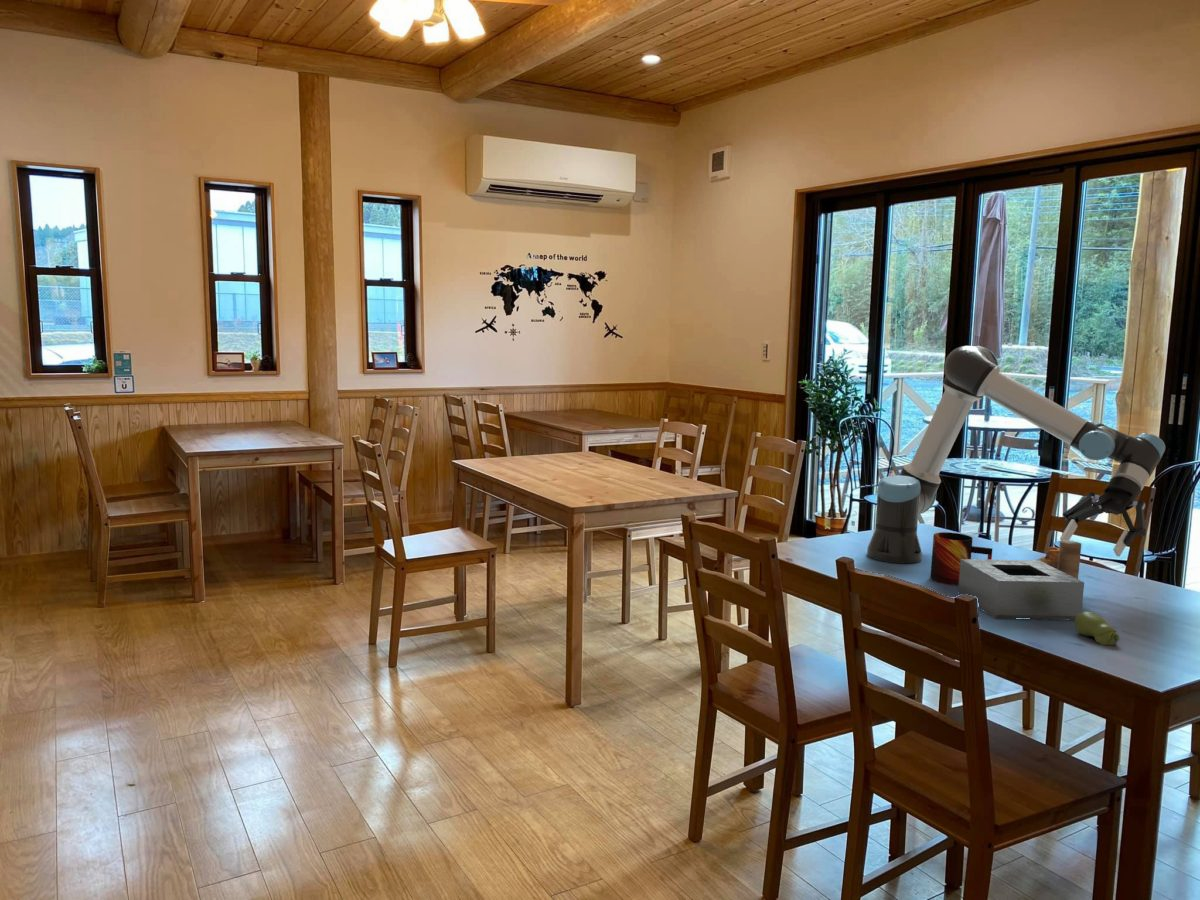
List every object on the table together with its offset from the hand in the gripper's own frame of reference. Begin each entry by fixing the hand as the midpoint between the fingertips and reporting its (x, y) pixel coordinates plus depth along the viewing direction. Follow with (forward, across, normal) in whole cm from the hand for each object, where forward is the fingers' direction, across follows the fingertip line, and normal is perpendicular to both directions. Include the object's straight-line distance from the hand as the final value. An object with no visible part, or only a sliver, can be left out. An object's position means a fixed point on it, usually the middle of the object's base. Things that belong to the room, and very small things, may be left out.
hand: (1088, 547), depth 226 cm
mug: (+22, +24, +4) cm, 33 cm away
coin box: (+27, +2, +10) cm, 29 cm away
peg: (+14, +1, -4) cm, 14 cm away
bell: (-1, +17, -19) cm, 25 cm away
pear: (+32, -21, +14) cm, 40 cm away
